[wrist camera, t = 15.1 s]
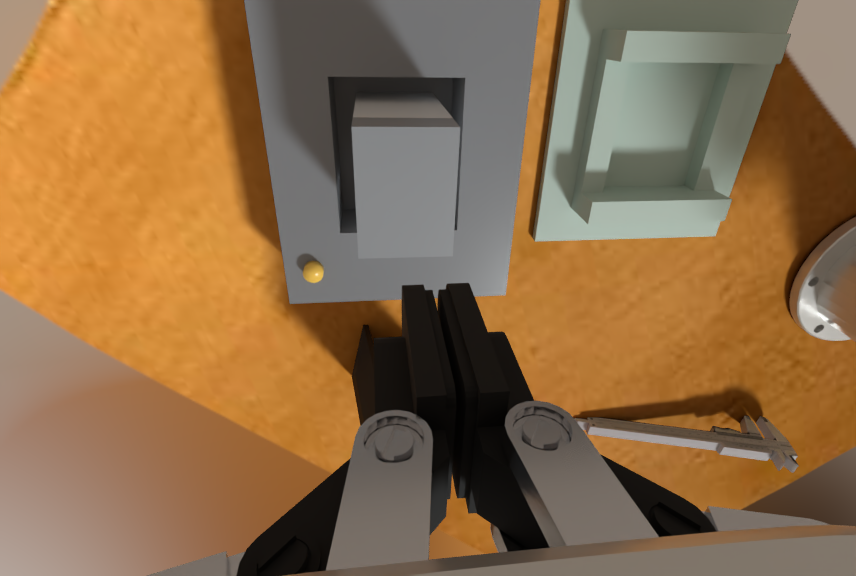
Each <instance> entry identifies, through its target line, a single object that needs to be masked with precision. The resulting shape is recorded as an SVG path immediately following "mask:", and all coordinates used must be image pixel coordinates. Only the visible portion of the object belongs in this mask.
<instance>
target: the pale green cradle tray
mask: <svg viewBox="0 0 856 576" xmlns="http://www.w3.org/2000/svg"><path fill="white" fill-rule="evenodd" d="M797 3H798V0H566V6H565V13H564V20H563V27H562V34H561V41H560V48H559V55H558V62H557V69H556V76H555V83H554V90H553V97H552V104H551V111H550V118H549V125H548V133H547V140H546V147H545V154H544V161H543V168H542V175H541V182H540V189H539V196H538V203H537V210H536V217H535V224H534V231H533V239H534V241H566V240H601V239H636V238H670V237H705V236H716V233H717V230H718V227H719V224H720V221H725V218H726V215H727V212H728V210H729V207H730V204H731V201H732V199H731V198H729V196H730V193H731V190H732V187H733V185H734V182H735V179H736V176H737V173H738V170H739V168H740V165H741V162H742V159H743V156H744V153H745V150H746V148H747V145H748V142H749V139H750V136H751V133H752V131H753V128H754V125H755V122H756V119H757V116H758V114H759V111H760V108H761V105H762V102H763V99H764V97H765V94H766V91H767V88H768V85H769V82H770V80H771V77H772V74H773V71H774V68H775V65H776V64H781V61H782V58H783V55H784V53H785V50H786V47H787V44H788V41H789V38H790V35H791V34H787V31H788V28H789V26H790V23H791V20H792V17H793V14H794V11H795V8H796V6H797Z"/></svg>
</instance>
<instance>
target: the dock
mask: <svg viewBox="0 0 856 576" xmlns="http://www.w3.org/2000/svg"><path fill="white" fill-rule="evenodd" d="M244 3H245V10H246V16H247V23H248V30H249V36H250V43H251V50H252V56H253V63H254V69H255V76H256V83H257V89H258V96H259V103H260V109H261V116H262V123H263V129H264V136H265V143H266V149H267V156H268V163H269V169H270V176H271V182H272V189H273V196H274V202H275V209H276V216H277V222H278V229H279V236H280V242H281V249H282V256H283V262H284V269H285V276H286V282H287V289H288V295H289V302H290V304H300V303H325V302H350V301H374V300H399V299H402V285H422V284H423V285H424V288H425V290H433V294H434V298H438V291H439V290H440V289H446V285H447V284H448V283H469V284H470V287H471V289H472V292H473V295H474V296H497V295H506V287H507V278H508V270H509V262H510V253H511V245H512V236H513V228H514V219H515V211H516V202H517V194H518V185H519V177H520V169H521V160H522V152H523V143H524V135H525V126H526V118H527V109H528V101H529V92H530V84H531V76H532V67H533V59H534V50H535V42H536V33H537V25H538V16H539V8H540V0H244ZM357 92H420V93H433V94H434V95H435V96H436V98H437V99H438V100H439V101H440V103H441V104H442V105H443V106H444V108H445V109H446V110H447V111H448V113H449V114H450V115H451V116H452V118H453V119H454V120H455V121H456V122H457V124H458V125H459V126H460V142H459V159H458V176H457V193H456V210H455V227H454V244H453V256H447V257H406V258H365V259H358V241H357V222H356V203H355V184H354V165H353V146H352V120H353V113H354V106H355V99H356V93H357Z"/></svg>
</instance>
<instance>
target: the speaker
mask: <svg viewBox="0 0 856 576" xmlns="http://www.w3.org/2000/svg"><path fill="white" fill-rule="evenodd" d="M352 380H353V385H354V391H355V396H356V402H357V408H358V413H359V419H360V425H362V424H363V423H364V422H365V421H366V420H367V419H368V418H370V417H372V416H373V415H375V386H374V345H373V342H372V338H371V334H370V330H369V326H368V325H363V329H362V333H361V338H360V342H359V347H358V351H357V356H356V360H355V365H354V370H353V374H352Z"/></svg>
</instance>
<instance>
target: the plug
mask: <svg viewBox="0 0 856 576" xmlns="http://www.w3.org/2000/svg"><path fill="white" fill-rule="evenodd" d="M459 142H460V126H459V125H458V124H457V122H456V121H455V120H454V119H453V118H452V116H451V115H450V114H449V113H448V111H447V110H446V109H445V108H444V106H443V105H442V104H441V103H440V101H439V100H438V99H437V98H436V96H435V95H434V94H433V93H420V92H357V93H356V99H355V106H354V113H353V120H352V146H353V165H354V184H355V203H356V222H357V241H358V259H365V258H406V257H447V256H453V244H454V227H455V210H456V193H457V176H458V159H459Z"/></svg>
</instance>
